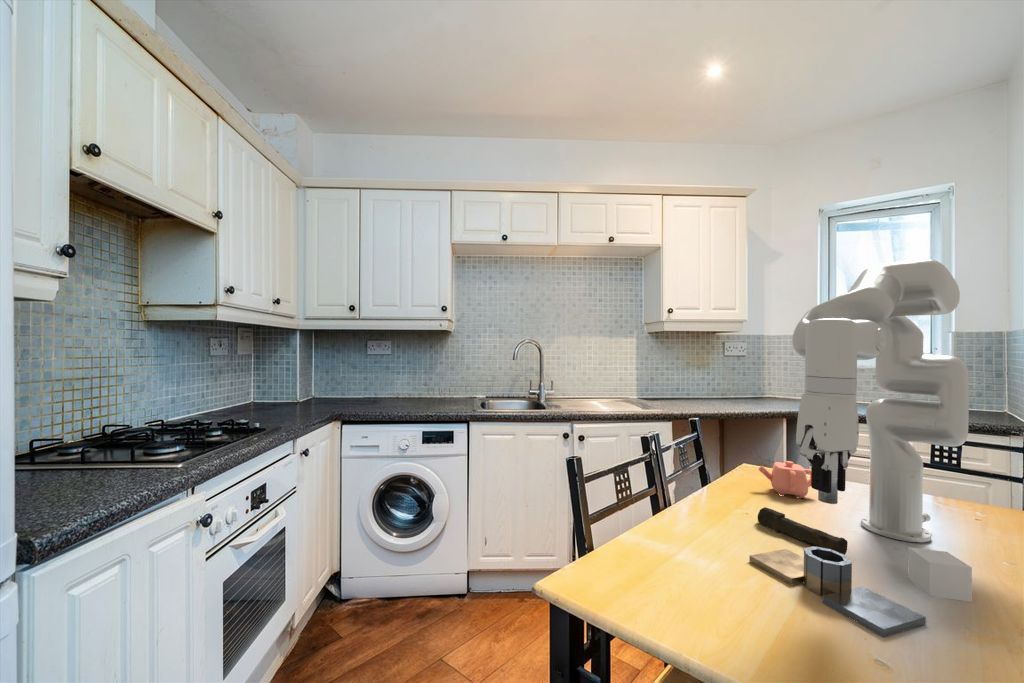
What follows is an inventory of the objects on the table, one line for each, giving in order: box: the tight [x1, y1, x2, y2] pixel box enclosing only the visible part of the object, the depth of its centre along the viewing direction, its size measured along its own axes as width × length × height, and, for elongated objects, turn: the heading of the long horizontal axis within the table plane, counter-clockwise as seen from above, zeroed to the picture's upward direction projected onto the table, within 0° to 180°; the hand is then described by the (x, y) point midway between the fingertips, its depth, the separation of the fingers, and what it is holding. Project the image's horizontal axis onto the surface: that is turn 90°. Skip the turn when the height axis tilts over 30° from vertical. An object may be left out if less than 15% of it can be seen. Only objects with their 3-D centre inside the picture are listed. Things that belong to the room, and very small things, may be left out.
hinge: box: [748, 545, 927, 638], centre depth 77 cm, size 10×24×6 cm, turn 19°
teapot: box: [757, 460, 812, 499], centre depth 129 cm, size 12×12×10 cm
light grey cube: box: [907, 546, 973, 603], centre depth 78 cm, size 6×6×6 cm
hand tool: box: [757, 506, 848, 555], centre depth 98 cm, size 19×4×5 cm, turn 23°
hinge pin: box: [817, 452, 839, 505], centre depth 77 cm, size 3×3×10 cm
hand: (828, 488), depth 77 cm, fingers closed on hinge pin, 2 cm apart
